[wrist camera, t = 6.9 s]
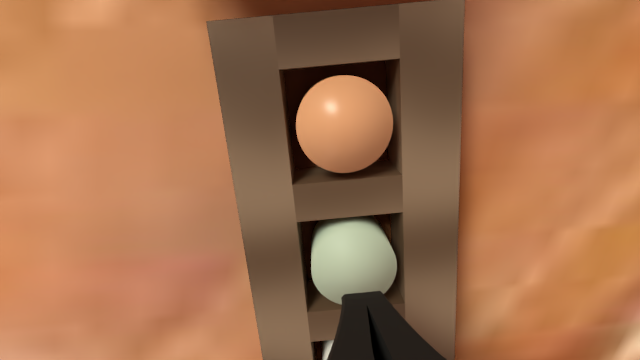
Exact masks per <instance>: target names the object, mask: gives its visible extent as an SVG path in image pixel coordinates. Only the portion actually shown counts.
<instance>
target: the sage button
mask: <svg viewBox="0 0 640 360" xmlns="http://www.w3.org/2000/svg"><path fill="white" fill-rule="evenodd" d="M396 271H397V261H396V256H395V254H394V251H393V249H392V247H391V245H390V243H389V241H388V239H387V236H386V234H385V232H384V230H383V228H382V226H381V224H380V223H379V221H378V220H377V219H376V218H375V217H374V216H373V215H367V216H357V217H346V218H335V219H324V220H319V222H318V223H317V224H316V226H315V228H314V230H313V233H312V237H311V274H312V279H313V282H314V284H315V286H316V288H317V289H318V290H319V292H320V293H321V294H322V295H323V296H325V297H326V298H327V299H329V300H331V301H333V302H335V303H338V304H341V305H342V300H341V297H342V296H343V295H344V294H352V293H362V292H373V291H381V292H382V293H383V294H384V293H385V292H386V291H387V290H388V289H389V288H390V286H391V285H392V283H393V281H394V279H395V276H396Z"/></svg>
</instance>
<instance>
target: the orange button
mask: <svg viewBox="0 0 640 360" xmlns="http://www.w3.org/2000/svg"><path fill="white" fill-rule="evenodd" d="M392 130H393V115H392V111H391V107H390V105H389V102H388V100H387V99H386V97H385V95H384V94H383V93H382V92H381V90H380V89H379V88H378V87H376V86H375V85H374V84H373V83H371V82H369V81H367V80H365V79H363V78H360V77H356V76H350V75H335V76H330V77H326V78H324V79H322V80H320V81H318V82H317V83H315V84H314V85H313V86H311V88H310V89H309V90H308V91H307V92H306V94H305V95H304V97H303V99H302V101H301V103H300V106H299V109H298V113H297V117H296V133H297V138H298V141H299V144H300V146H301V148H302V150H303V151H304V153H305V154H306V155H307V157H308V158H309V159H310V160H311V161H312V162H313V163H315V164H316V165H318V166H319V167H321V168H323V169H325V170H328V171H332V172H336V173H350V172H355V171H359V170H361V169H364V168H366V167H368V166H369V165H371V164H372V163H374V162H375V161H376V160H377V159H378V158H379V157H380V156H381V155H382V154H383V152H384V151H385V149H386V148H387V146H388V144H389V142H390V139H391V135H392Z"/></svg>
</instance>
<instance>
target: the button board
mask: <svg viewBox="0 0 640 360" xmlns="http://www.w3.org/2000/svg"><path fill="white" fill-rule="evenodd" d="M464 9H465V0H434V1H423V2H412V3H401V4H390V5H379V6H368V7H357V8H347V9H336V10H325V11H314V12H303V13H292V14H281V15H270V16H259V17H248V18H238V19H227V20H216V21H206V22H207V28H208V34H209V40H210V46H211V52H212V58H213V64H214V70H215V76H216V82H217V88H218V94H219V100H220V106H221V112H222V118H223V124H224V130H225V136H226V142H227V148H228V154H229V160H230V166H231V172H232V178H233V184H234V190H235V196H236V201H237V207H238V213H239V219H240V225H241V231H242V237H243V243H244V249H245V255H246V261H247V267H248V273H249V279H250V285H251V291H252V297H253V303H254V309H255V315H256V321H257V327H258V333H259V339H260V345H261V351H262V357H263V360H316V352H315V343H314V341H325V340H334V338H335V335H336V331H337V327H338V324H339V319H340V314H341V307H342V305H341V304H338V303H335V302H333V301H331V300H329V299H327V298H326V297H325V296H323V295H322V294H321V293H320V292H319V290H318V289H317V288H316V286H315V284H314V282H313V281H307V272H306V264H305V255H304V246H303V237H302V228H301V222H303V221H313V220H324V219H335V218H346V217H357V216H367V215H378V214H389V213H391V244H392V249H393V251H394V254H395V256H396V261H397V271H396V276H395V279H394V281H393V283H392V285H391V286H390V288H389V289H388V290H387V291H386V292H385V293H384V295H385V296H386V298H387V299H388V300H389V302H390V303H391V304H392V305H393V306H394V308H395V309H396V310H397V311H398V312H399V314H400V315H401V316H402V317H403V318H404V319H405V320H406V321H407V322H408V323H409V324H410V326H411V327H412V328H413V329H414V330H415V331H416V332H417V333H418V334H419V335H420V336H421V337H422V338H423V339H424V340H425V341H426V342H428V343H429V344H430V345H431V346H432V347H433V348H434V349H435V350H436V351H437V352H438V353H440V354H441V355H442V356H443V357H444V358H446V359H447V360H454V359H455V324H456V289H457V254H458V219H459V184H460V149H461V114H462V79H463V44H464ZM381 61H386V88H387V100H388V102H389V105H390V107H391V111H392V115H393V130H392V135H391V139H390V142H389V144H388V151H389V160H386V161H375V162H374V163H372V164H371V165H369V166H368V167H366V168H364V169H361V170H359V171H355V172H350V173H336V172H332V171H328V170H325V169H323V168H321V167H311V168H300V169H295V166H294V157H293V148H292V139H291V131H290V122H289V113H288V104H287V95H286V86H285V77H284V70H294V69H305V68H315V67H326V66H337V65H348V64H359V63H370V62H381Z"/></svg>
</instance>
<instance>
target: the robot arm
mask: <svg viewBox="0 0 640 360" xmlns="http://www.w3.org/2000/svg"><path fill="white" fill-rule="evenodd" d="M341 300H342V307H341V314H340V319H339V324H338V327H337V331H336V335H335V338H334V341H333V344H332V347H331V350H330V353H329V355H328V358H327V360H447V359H446V358H444V357H443V356H442V355H441V354H440V353H438V352H437V351H436V350H435V349H434V348H433V347H432V346H431V345H430V344H429V343H428V342H426V341H425V340H424V339H423V338H422V337H421V336H420V335H419V334H418V333H417V332H416V331H415V330H414V329H413V328H412V327H411V326H410V324H409V323H408V322H407V321H406V320H405V319H404V318H403V317H402V316H401V315H400V314H399V312H398V311H397V310H396V309H395V308H394V306H393V305H392V304H391V303H390V302H389V300H388V299H387V298H386V296H385V295H384V294H383V293H382V292H381V291H373V292H362V293H352V294H344V295H343V296H342V297H341Z"/></svg>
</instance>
